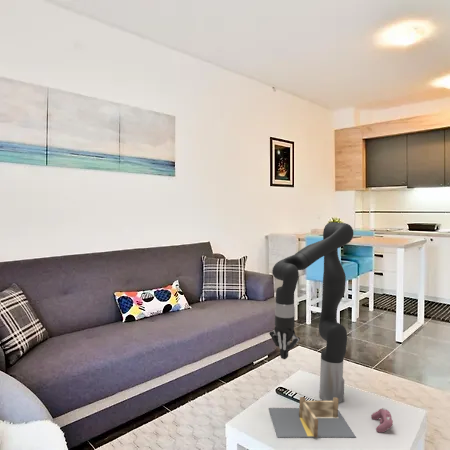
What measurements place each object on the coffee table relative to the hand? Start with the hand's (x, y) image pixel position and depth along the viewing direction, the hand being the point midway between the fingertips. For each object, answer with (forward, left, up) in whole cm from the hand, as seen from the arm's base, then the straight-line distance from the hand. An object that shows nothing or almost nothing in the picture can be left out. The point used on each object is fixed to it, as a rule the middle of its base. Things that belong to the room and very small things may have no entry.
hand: (284, 358), depth 140 cm
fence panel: (-8, +9, -22) cm, 25 cm away
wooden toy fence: (-14, +2, -23) cm, 26 cm away
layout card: (-9, +5, -23) cm, 25 cm away
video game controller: (-36, +7, -23) cm, 43 cm away
